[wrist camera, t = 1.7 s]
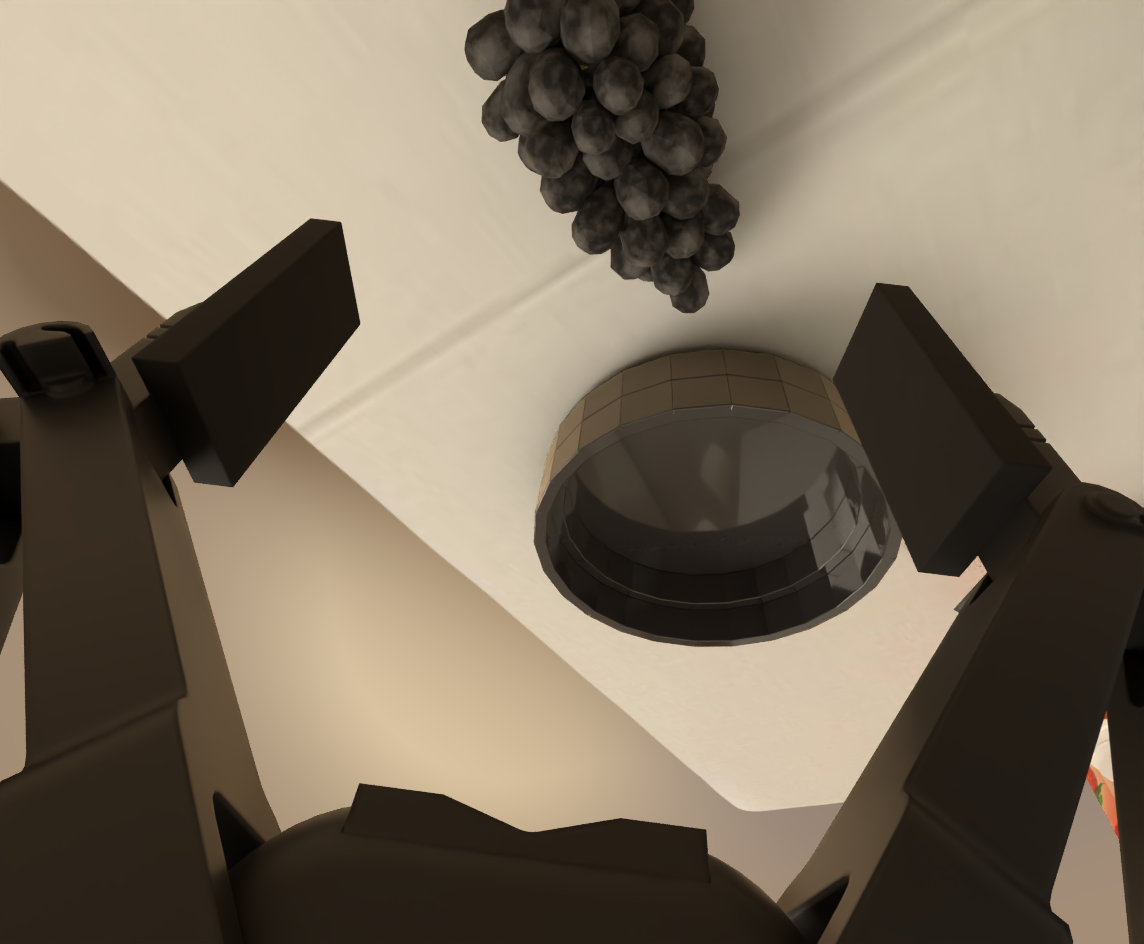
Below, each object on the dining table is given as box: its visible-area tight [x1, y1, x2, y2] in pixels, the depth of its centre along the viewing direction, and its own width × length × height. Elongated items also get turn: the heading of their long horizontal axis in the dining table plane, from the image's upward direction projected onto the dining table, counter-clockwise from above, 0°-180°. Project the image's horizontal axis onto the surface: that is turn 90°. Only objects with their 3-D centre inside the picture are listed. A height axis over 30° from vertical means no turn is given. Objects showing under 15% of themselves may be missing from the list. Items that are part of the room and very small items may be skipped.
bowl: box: [534, 349, 902, 647], centre depth 37 cm, size 22×22×6 cm
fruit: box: [465, 0, 740, 313], centre depth 23 cm, size 9×8×15 cm
